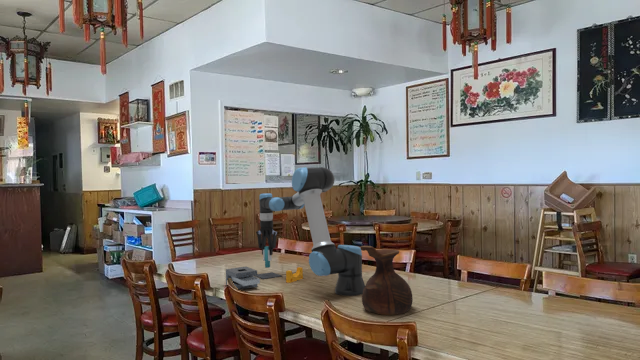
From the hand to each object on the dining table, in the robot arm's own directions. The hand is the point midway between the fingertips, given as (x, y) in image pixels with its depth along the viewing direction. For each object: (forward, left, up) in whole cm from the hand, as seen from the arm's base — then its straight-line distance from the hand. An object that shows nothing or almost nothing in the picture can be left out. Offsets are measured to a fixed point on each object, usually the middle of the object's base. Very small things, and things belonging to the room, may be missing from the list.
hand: (267, 260), depth 284 cm
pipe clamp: (-19, -6, -10) cm, 22 cm away
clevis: (-14, +22, -9) cm, 27 cm away
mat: (0, 0, -9) cm, 9 cm away
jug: (-97, -7, -9) cm, 98 cm away
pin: (0, 0, -4) cm, 4 cm away
